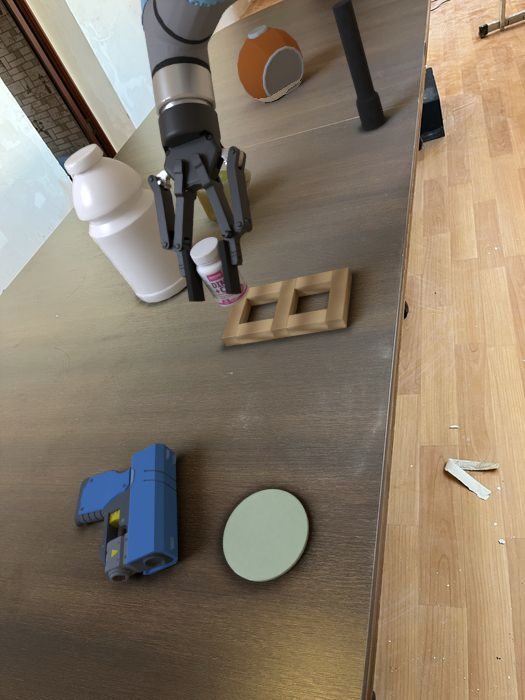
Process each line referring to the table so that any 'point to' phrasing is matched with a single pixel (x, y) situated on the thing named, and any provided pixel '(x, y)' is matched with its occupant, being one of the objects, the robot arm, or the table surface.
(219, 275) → the pill bottle
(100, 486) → the stun gun
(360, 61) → the flashlight
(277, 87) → the alarm clock
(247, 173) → the mug
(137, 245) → the bottle
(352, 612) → the table surface
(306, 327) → the frame
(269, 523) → the coaster
